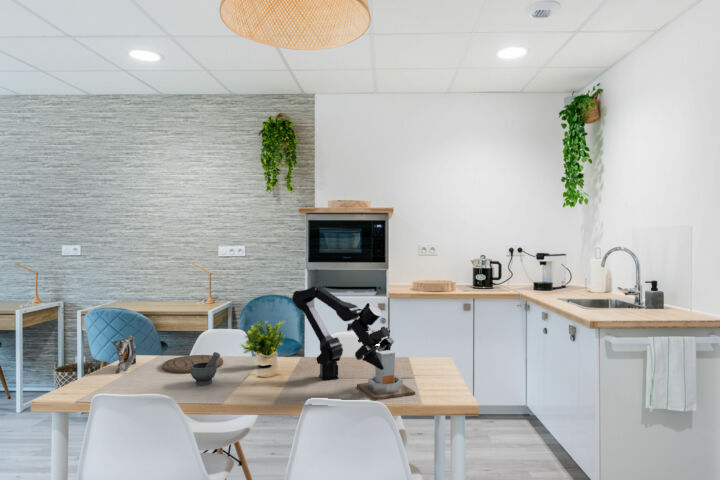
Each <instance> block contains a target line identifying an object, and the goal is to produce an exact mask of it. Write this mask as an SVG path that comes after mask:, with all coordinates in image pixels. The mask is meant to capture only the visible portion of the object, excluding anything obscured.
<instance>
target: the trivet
mask: <svg viewBox="0 0 720 480" xmlns="http://www.w3.org/2000/svg"><path fill="white" fill-rule="evenodd" d="M212 356H213V354H194V355H193V354H192V355H184V356H179V357H173V358H171V359H167V360H165V361H164V362H163V363H162V371H164V372H166V373H171V374H191V371H190V367H191V365H193V364H196V363H202V362H209V361H210V359H211V358H212ZM216 363H217V369H218V368H220V367H222V366H223V364H224V359H223V357H221V356H220V357H219V358H218V359H217V361H216Z"/></svg>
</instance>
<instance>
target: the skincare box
mask: <svg viewBox="0 0 720 480" xmlns="http://www.w3.org/2000/svg"><path fill="white" fill-rule="evenodd" d="M376 355H377V357H378V359H379V360H380V362H381V364H382V365H383V367H384V369H383V370H381V369H379V368H377V367H375V369H374V370H375V372H374V373H375V374H374V376H375V382H376V383H383V384H390V383H394V376H396V375H395V372H396V371H395V370H396V369H395V367H396V366H395V365H396V362H395V361H396V352H394V351H392V350H391V349H390V350H387V351H376Z"/></svg>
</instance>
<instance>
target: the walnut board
mask: <svg viewBox="0 0 720 480" xmlns="http://www.w3.org/2000/svg"><path fill="white" fill-rule="evenodd" d="M356 388H358V389H359V390H360V391H361V392H363V393H364V394H366V395H367V396H369V397H370V398H371V399H373V400H374V401H380V400H387V399H393V398H400V397H401V398H402V397H407V396H412V395H413V396H414V395H416V391H415V390H413V389H412V388H410V387H409V386H406V385H405V384H403V386H402V389H401V390H400V391H399V392H393V393H380V392H373V391H372V390H371V389H369V388H368V382H363V383H356Z"/></svg>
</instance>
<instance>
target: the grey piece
mask: <svg viewBox="0 0 720 480" xmlns="http://www.w3.org/2000/svg"><path fill="white" fill-rule="evenodd" d="M112 345H113V346H114V347H115V353H116V354H117V356H118V362H119V363H118V364H117V369H116V370H115V374H121V372H127V371H128V370H129V369H130V366H131V365H135V364H137V357H136V356H137V351H136V344H135V336H134V335H133V334H130V335H129V336H127V338H123V339H121V340H120V339H119V340H114V341H112Z"/></svg>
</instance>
